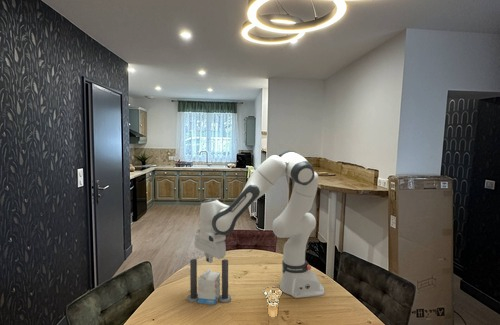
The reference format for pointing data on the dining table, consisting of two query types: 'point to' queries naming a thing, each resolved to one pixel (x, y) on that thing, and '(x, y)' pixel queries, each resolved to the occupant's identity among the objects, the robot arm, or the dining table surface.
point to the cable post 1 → (193, 282)
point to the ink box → (209, 287)
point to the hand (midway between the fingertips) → (209, 261)
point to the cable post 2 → (225, 283)
